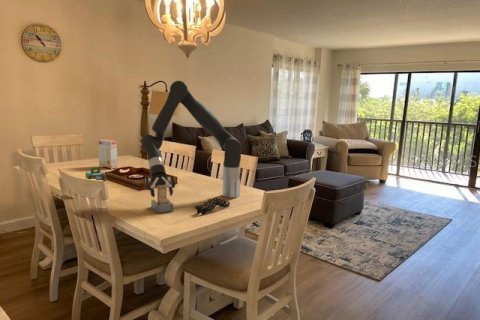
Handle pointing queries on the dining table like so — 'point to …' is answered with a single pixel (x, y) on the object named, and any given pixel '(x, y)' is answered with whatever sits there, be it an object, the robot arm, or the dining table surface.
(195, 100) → the robot arm
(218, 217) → the dining table surface
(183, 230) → the dining table surface
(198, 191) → the dining table surface
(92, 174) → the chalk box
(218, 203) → the decorative element
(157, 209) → the end cap
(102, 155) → the cracker box
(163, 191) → the tan wooden block
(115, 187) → the dining table surface
